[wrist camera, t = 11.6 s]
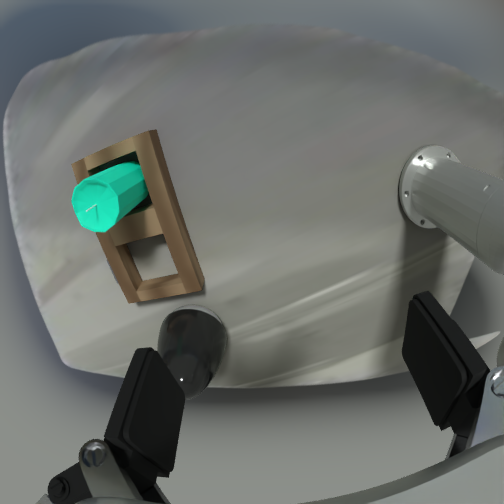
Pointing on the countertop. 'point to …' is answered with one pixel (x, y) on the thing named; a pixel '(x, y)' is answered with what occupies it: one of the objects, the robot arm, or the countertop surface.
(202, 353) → the pump dispenser
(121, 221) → the socket block
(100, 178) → the candle
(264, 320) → the countertop surface
